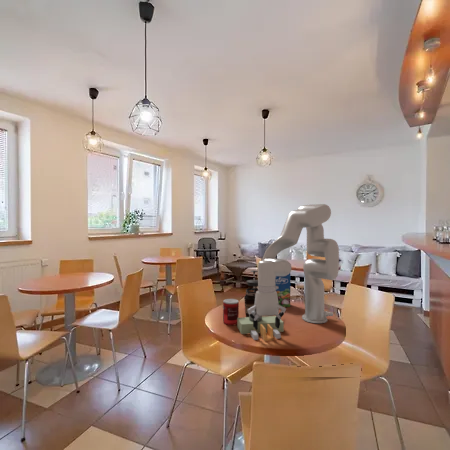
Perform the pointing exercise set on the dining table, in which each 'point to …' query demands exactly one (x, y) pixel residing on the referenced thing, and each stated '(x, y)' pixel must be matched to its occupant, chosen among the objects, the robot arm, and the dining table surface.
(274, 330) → the green plate with pegs
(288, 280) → the blue food package
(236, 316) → the canned food
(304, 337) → the dining table surface
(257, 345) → the dining table surface
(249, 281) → the french press
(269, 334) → the chute
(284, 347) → the dining table surface
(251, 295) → the coffee cup
